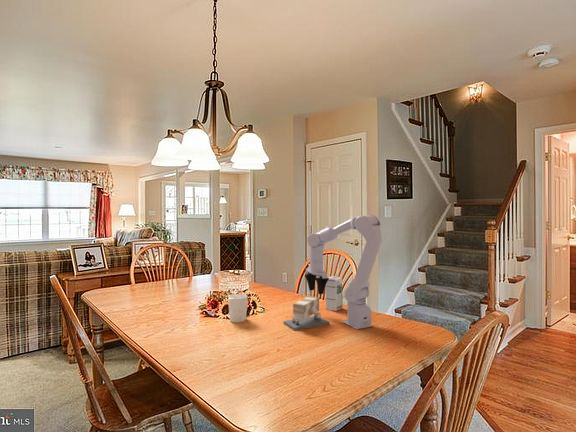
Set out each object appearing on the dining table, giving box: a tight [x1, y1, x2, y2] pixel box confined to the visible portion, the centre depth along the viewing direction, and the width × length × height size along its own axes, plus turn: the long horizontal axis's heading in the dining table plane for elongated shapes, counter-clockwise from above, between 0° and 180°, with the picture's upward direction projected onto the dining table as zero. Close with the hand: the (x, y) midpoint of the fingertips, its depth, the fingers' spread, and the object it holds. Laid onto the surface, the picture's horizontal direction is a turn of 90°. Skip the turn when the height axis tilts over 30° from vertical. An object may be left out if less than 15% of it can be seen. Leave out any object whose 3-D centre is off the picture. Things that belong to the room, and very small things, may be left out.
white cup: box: [227, 293, 248, 323], centre depth 151 cm, size 8×8×10 cm
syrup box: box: [325, 275, 343, 312], centre depth 168 cm, size 6×6×14 cm
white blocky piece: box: [292, 295, 320, 320], centre depth 146 cm, size 14×4×6 cm, turn 150°
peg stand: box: [283, 311, 330, 331], centre depth 146 cm, size 16×9×4 cm, turn 117°
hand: (316, 292), depth 159 cm, fingers open, 7 cm apart
